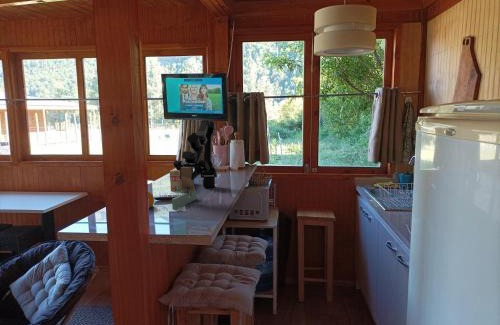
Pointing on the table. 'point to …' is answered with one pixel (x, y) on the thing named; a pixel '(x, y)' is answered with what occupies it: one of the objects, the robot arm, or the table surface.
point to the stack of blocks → (175, 180)
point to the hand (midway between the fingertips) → (186, 179)
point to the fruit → (150, 199)
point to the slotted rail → (183, 199)
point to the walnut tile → (187, 179)
